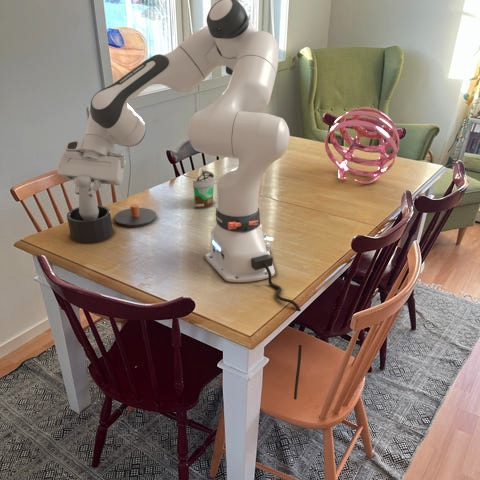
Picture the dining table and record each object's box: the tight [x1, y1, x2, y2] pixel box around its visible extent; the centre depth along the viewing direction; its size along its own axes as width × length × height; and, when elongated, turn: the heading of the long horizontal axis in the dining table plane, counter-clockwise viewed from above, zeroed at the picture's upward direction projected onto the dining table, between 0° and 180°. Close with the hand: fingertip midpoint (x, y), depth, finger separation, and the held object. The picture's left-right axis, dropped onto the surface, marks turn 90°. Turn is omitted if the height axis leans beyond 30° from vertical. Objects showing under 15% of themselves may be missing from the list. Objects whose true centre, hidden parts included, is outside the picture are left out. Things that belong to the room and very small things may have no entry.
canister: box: [66, 204, 114, 244], centre depth 147 cm, size 13×13×7 cm
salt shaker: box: [76, 175, 99, 221], centre depth 142 cm, size 6×6×13 cm
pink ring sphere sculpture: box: [324, 107, 401, 186], centre depth 184 cm, size 28×28×27 cm
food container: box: [192, 169, 217, 209], centre depth 166 cm, size 12×6×10 cm, turn 168°
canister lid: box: [113, 203, 158, 227], centre depth 157 cm, size 14×14×5 cm
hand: (84, 194), depth 141 cm, fingers closed on salt shaker, 3 cm apart
